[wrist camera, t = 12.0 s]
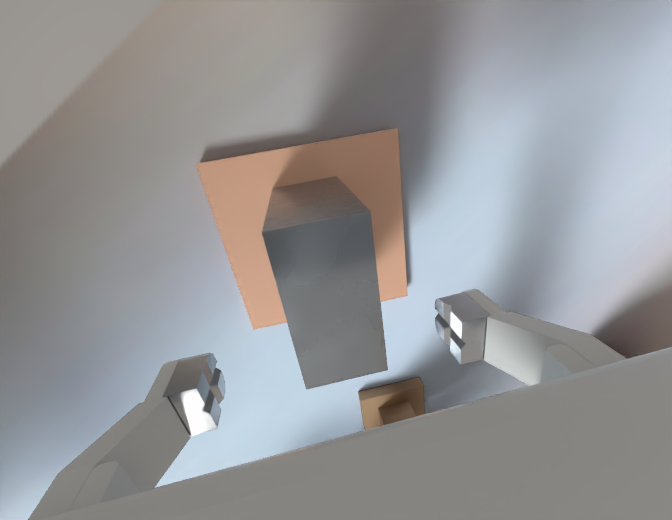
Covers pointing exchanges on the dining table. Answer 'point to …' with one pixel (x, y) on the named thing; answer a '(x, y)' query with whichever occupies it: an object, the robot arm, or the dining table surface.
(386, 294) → the tile
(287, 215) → the brushed grey metal block
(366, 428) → the stand
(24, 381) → the dining table surface
